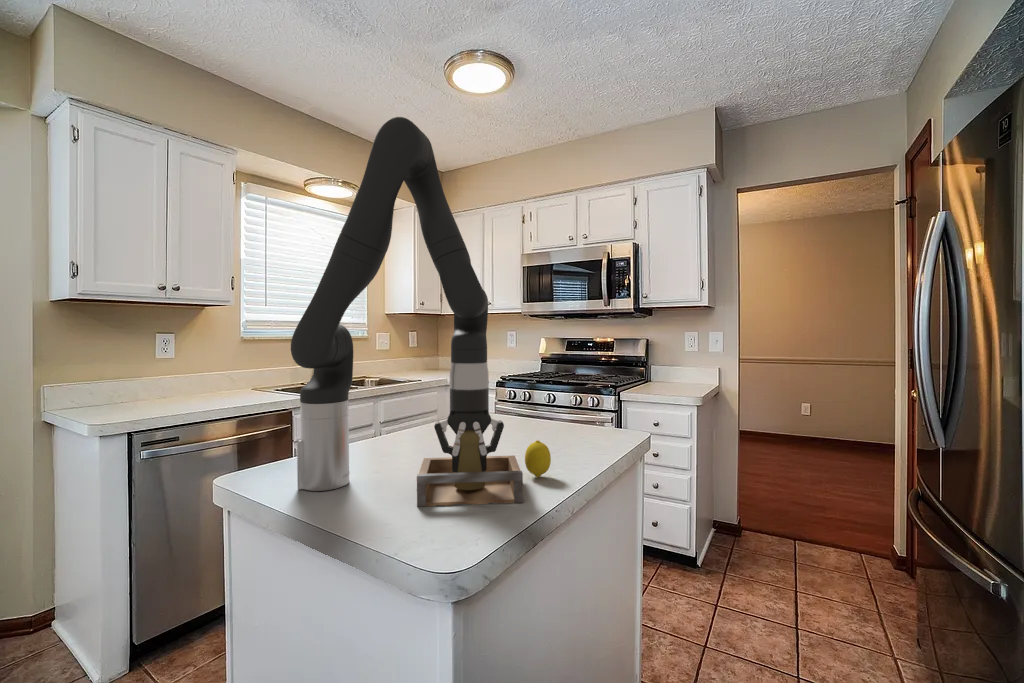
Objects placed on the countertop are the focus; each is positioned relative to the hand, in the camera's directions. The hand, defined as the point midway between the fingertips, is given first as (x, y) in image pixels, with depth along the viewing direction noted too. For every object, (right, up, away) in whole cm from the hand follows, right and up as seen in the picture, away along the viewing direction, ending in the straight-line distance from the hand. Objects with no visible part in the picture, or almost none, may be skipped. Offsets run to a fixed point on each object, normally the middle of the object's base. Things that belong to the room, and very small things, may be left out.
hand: (469, 473), depth 94 cm
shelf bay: (0, -4, 0) cm, 4 cm away
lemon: (+14, -4, +9) cm, 17 cm away
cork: (0, -3, 0) cm, 3 cm away
